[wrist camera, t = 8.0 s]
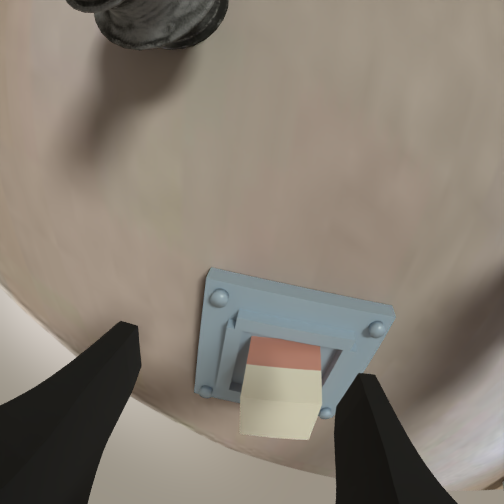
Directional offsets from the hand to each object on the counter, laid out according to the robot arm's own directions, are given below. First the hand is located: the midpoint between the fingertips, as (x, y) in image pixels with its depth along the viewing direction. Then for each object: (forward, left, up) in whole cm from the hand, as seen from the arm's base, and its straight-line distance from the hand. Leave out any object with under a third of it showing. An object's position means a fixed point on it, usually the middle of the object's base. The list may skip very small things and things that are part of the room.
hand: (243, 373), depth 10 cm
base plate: (-3, +9, -10) cm, 14 cm away
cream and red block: (-3, +9, -9) cm, 13 cm away
